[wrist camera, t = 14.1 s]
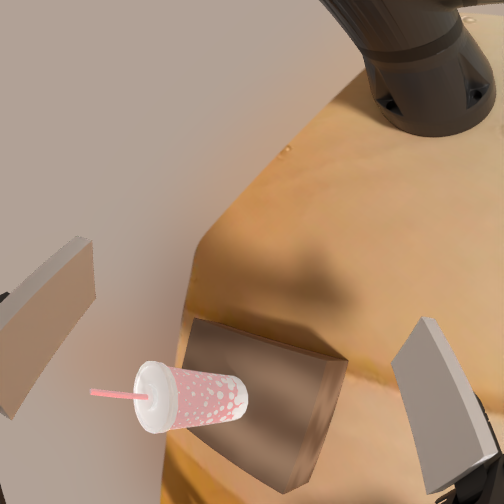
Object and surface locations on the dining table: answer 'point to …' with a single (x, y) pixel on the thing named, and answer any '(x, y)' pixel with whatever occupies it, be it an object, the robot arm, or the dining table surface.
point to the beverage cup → (182, 397)
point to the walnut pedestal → (268, 402)
